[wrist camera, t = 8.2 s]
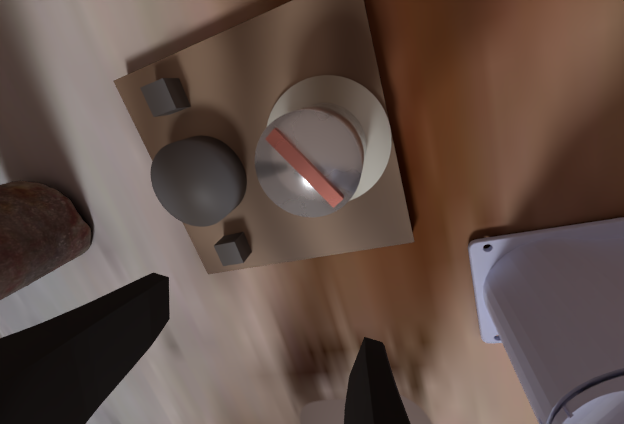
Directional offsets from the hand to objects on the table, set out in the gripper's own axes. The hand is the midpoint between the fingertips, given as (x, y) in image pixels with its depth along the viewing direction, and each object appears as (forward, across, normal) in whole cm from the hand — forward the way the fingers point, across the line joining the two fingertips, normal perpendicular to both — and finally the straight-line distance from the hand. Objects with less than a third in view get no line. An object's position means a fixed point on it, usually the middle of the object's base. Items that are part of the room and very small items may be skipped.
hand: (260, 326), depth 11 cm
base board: (+10, +4, -3) cm, 11 cm away
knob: (+9, 0, -5) cm, 10 cm away
